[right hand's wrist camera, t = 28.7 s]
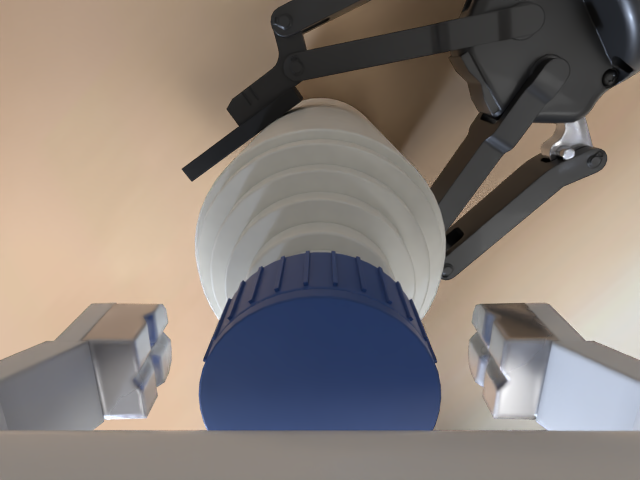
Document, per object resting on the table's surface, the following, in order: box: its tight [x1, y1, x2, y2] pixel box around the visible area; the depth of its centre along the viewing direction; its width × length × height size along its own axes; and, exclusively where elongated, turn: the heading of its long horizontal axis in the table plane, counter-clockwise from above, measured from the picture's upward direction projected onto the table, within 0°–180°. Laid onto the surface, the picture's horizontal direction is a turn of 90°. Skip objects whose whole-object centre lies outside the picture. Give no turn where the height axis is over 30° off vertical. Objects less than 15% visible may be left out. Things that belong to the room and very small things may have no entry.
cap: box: [199, 251, 441, 430], centre depth 9 cm, size 4×4×2 cm
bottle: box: [195, 98, 446, 320], centre depth 19 cm, size 8×8×22 cm
